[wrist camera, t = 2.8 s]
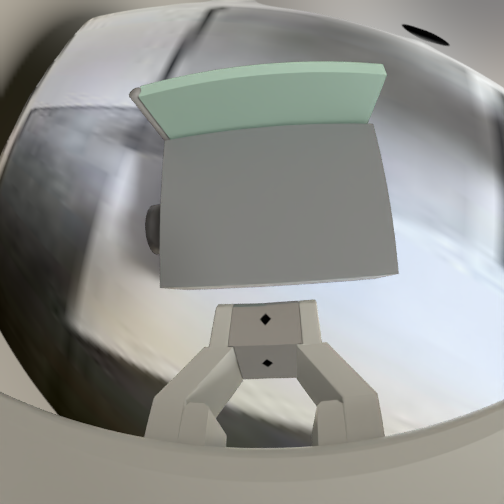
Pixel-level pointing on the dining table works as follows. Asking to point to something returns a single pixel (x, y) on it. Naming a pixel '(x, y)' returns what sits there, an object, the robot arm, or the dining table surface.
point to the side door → (261, 97)
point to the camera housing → (273, 208)
